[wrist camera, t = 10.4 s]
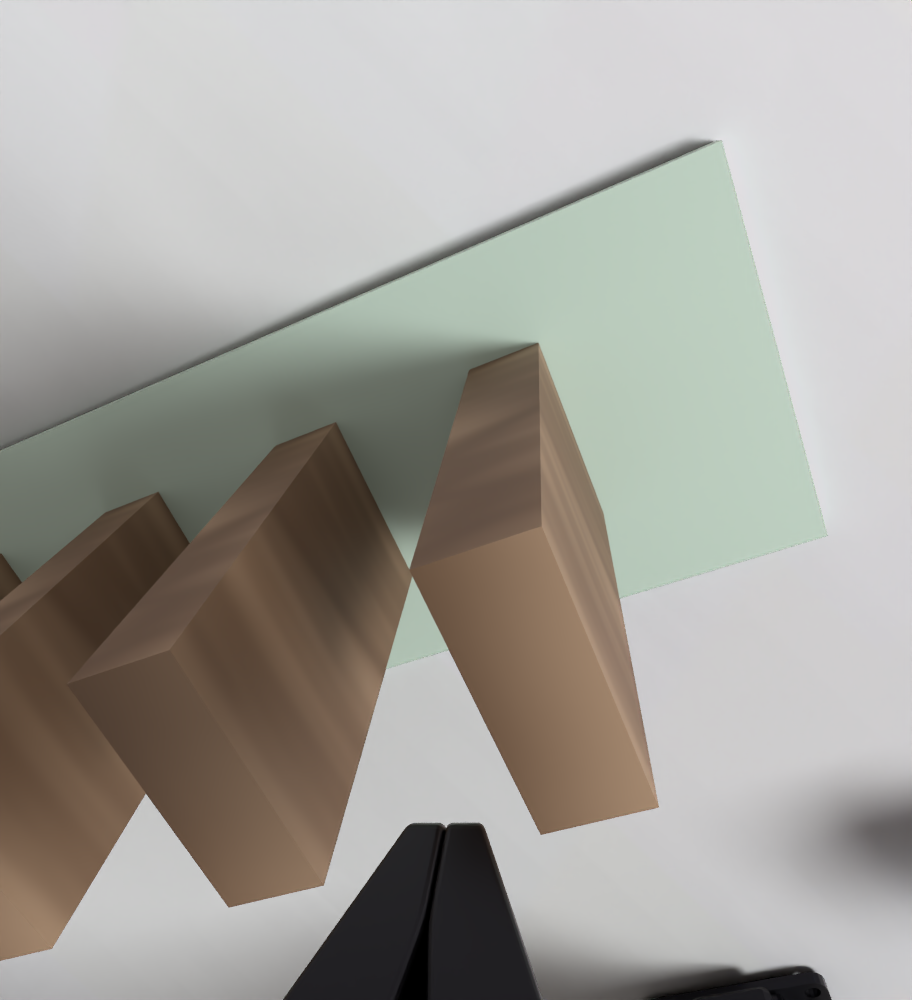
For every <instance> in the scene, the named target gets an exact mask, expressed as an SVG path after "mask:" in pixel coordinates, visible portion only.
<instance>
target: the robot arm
mask: <svg viewBox="0 0 912 1000" xmlns="http://www.w3.org/2000/svg"><path fill="white" fill-rule="evenodd" d="M283 1000H543V999H542V996H541V993H540V990H539V987H538V984H537V981H536V979H535V976H534V973H533V970H532V967H531V964H530V961H529V958H528V955H527V952H526V949H525V946H524V943H523V940H522V937H521V934H520V931H519V928H518V925H517V922H516V919H515V916H514V913H513V910H512V907H511V904H510V902H509V899H508V896H507V893H506V890H505V887H504V884H503V881H502V878H501V875H500V872H499V869H498V866H497V863H496V860H495V857H494V854H493V851H492V848H491V845H490V842H489V839H488V836H487V833H486V831H485V828H484V826H483V825H482V824H480V823H450V824H449V825H448V826H447V828H446V827H445V826H444V825H443V824H441V823H412V824H410V825H408V826H407V827H406V828H405V829H404V831H403V832H402V834H401V835H400V836H399V838H398V839H397V841H396V842H395V844H394V845H393V846H392V848H391V849H390V851H389V852H388V853H387V855H386V856H385V858H384V859H383V860H382V862H381V863H380V865H379V866H378V867H377V869H376V870H375V872H374V873H373V874H372V876H371V877H370V879H369V880H368V881H367V883H366V884H365V886H364V887H363V888H362V890H361V891H360V893H359V894H358V895H357V897H356V898H355V900H354V901H353V902H352V904H351V905H350V907H349V908H348V909H347V911H346V912H345V914H344V915H343V916H342V918H341V919H340V921H339V922H338V923H337V925H336V926H335V928H334V929H333V930H332V932H331V933H330V935H329V936H328V937H327V939H326V940H325V942H324V943H323V944H322V946H321V947H320V949H319V950H318V951H317V953H316V954H315V956H314V957H313V958H312V960H311V961H310V963H309V964H308V965H307V967H306V968H305V970H304V971H303V972H302V974H301V975H300V977H299V978H298V979H297V981H296V982H295V984H294V985H293V986H292V988H291V989H290V991H289V992H288V993H287V995H286V996H285V998H284V999H283ZM651 1000H831V997H830V994H829V991H828V989H827V986H826V983H825V980H824V978H823V977H822V976H821V975H820V974H818V973H814V972H806V973H800V974H794V975H788V976H783V977H777V978H771V979H765V980H760V981H754V982H748V983H742V984H737V985H731V986H725V987H719V988H714V989H708V990H702V991H696V992H691V993H685V994H679V995H673V996H667V997H662V998H656V999H651Z"/></svg>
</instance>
